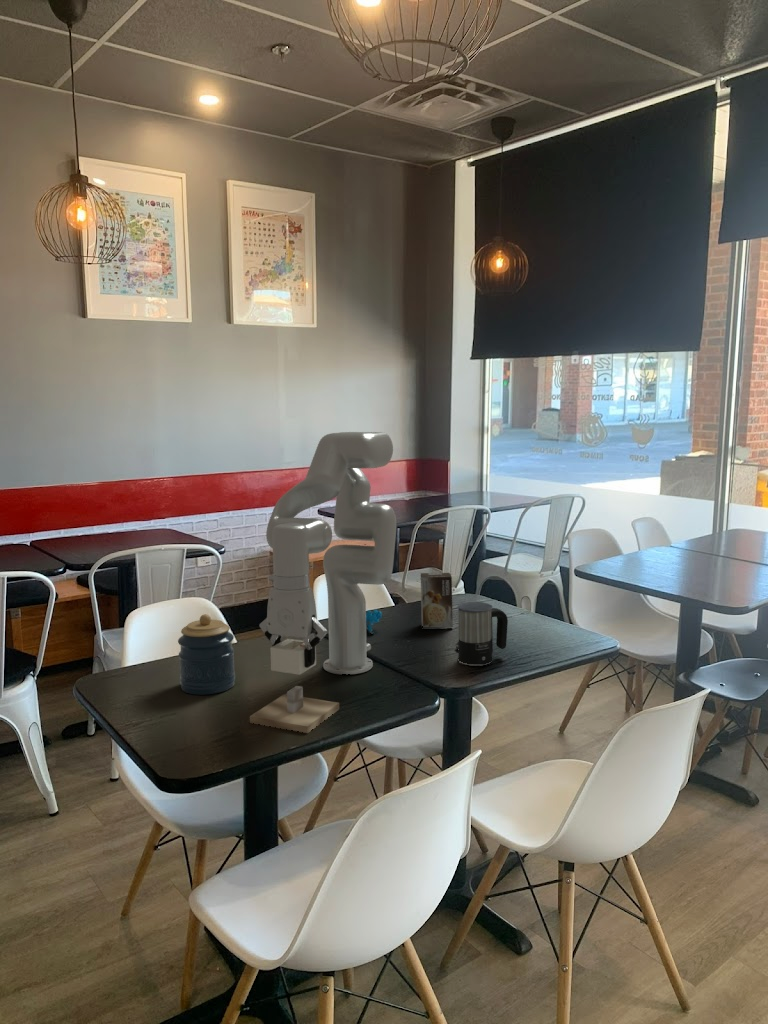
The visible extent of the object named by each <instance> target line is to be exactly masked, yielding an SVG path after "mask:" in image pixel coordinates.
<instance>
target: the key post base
mask: <svg viewBox="0 0 768 1024" xmlns="http://www.w3.org/2000/svg"><path fill="white" fill-rule="evenodd" d="M303 689H304V688H303V686H299V685H295V686H294V687H292V688H290V689H289V690H288V691H286V694H285V693H284V694H282V695H281V696H279V697H278V698H276V699H274V700H273V701H271V702H270V703H268V704H267V705H265V706H264V707H262V708H260V709H259V710H257V711H256V712H254V713H252V714H251V715H250V716H249V723H250V724H253V723H254V725H258V724H260V726H264V725H265V726H264V727H269V726H271V727H270V728H275V727H276V729H280V728H281V730H286V729H287V731H291V730H293V732H297V731H299V732H298V733H302V732H303V734H309V733H311V730H312V729H313V730H314V729H315V728H317V727H318V726H319V725H321V724H323V722H324V720H325V721H326V720H328V719H329V718H330V717H331V716H333V715H334V714H336V713H337V712H338V711H339V710H340V702H338V701H337V702H336V701H331V700H330V701H329V700H324V699H318V698H313V697H306V696H304V691H303ZM332 714H333V715H332ZM328 717H329V718H328ZM320 723H321V724H320ZM316 726H317V727H316Z"/></svg>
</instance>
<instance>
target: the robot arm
mask: <svg viewBox="0 0 768 1024" xmlns="http://www.w3.org/2000/svg"><path fill="white" fill-rule="evenodd" d="M318 441H319V442H318V444H317V447H316V449H315V452H314V454H313V457H312V459H311V462H310V465H309V468H308V470H307V474H306V476H305V478H304V479H303V480H301V481H300V482H298V483H297V484H295V485H294V486H292V487H291V488H290V489H289V490H287V492H284V494H283V495H282V496H280V498H279V499H278V500H277V502H276V503H275V505H274V508H273V510H272V512H271V515H270V518H269V520H268V523H267V527H266V533H265V534H266V535H265V537H266V542H267V544H268V546H269V547H270V548H271V549H272V562H273V563H272V567H273V574H270V575H269V576H268V580H269V581H270V582H272V583H273V585H272V586H273V587H270V589H269V593H268V594H269V595H268V601H267V608H266V609H267V610H266V613H267V614H266V618H265V619H264V620H263V621H262V622H260V623H259V628H260V629H261V631H262V632H263V633H264V636H265V637H266V639H267V640H268V641H269V644H270V645H271V647H273V646H275V645H276V644H278V643H280V642H282V638H283V637H287V638H292V639H293V638H294V639H295V638H296V639H302V641H304V643H305V646H306V649H305V650H304V659H305V667H306V668H308V667H310V666H312V665H313V664H314V662H315V646H316V647H317V646H318V644H319V643H320V642H321V641H322V640H323V639H324V638H325V637H326V635H327V634H328V656H329V658H328V659H325V660H324V662H323V664H322V665H323V669H324V670H325V671H327V673H329V674H330V673H331V674H333V675H334V674H335V675H342V674H346V675H345V676H347V675H348V674H350V675H357V674H363V673H365V672H369V671H370V670H371V669H372V668H373V666H374V665H373V664H374V663H373V660H372V659H371V658H369V657H367V654H368V653H367V652H368V651H370V650H371V649H372V645H371V644H370V643H368V642H367V627H366V615H367V613H366V612H367V609H366V608H367V607H366V606H367V605H366V604H367V602H366V601H367V600H366V597H365V595H364V592H363V591H362V589H361V587H360V586H359V585H361V584H362V585H385V584H387V583H388V582H390V580H391V578H392V574H393V569H394V562H395V561H394V560H395V548H396V539H397V537H396V536H397V517H396V512H395V510H394V509H393V507H391V506H390V505H389V504H385V503H375V502H373V503H370V500H371V499H370V498H371V483H370V481H369V479H368V477H367V475H366V474H365V473H364V472H363V470H362V469H378V468H383V467H385V466H387V465H388V464H389V463H390V461H391V459H392V457H393V452H394V445H393V441H392V438H391V436H390V435H389V434H388V433H386V432H383V431H344V432H343V431H342V432H331V433H328V434H325V435H323V436H322V437H321V439H320V440H318ZM334 499H335V506H334V507H335V508H334V517H333V529H334V530H332V528H331V525H330V524H329V523H328V522H327V521H326V520H324V519H322V518H312V517H311V518H310V517H296V516H297V515H298V514H300V513H303V511H305V510H309V509H310V508H313V507H317V506H319V505H322V504H324V503H327V502H329V501H331V500H334ZM333 531H334V534H335V535H336V537H338V539H341V540H345V541H346V540H348V541H361V542H362V541H364V542H374V545H360V544H359V545H358V544H337V545H333V546H331V547H330V545H331V542H332V540H333ZM325 550H326V551H325ZM324 551H325V552H324ZM322 552H324V555H323V560H322V564H323V565H322V566H323V572H324V576H325V580H326V581H325V583H326V589H327V612H328V613H327V615H328V618H327V619H328V630H327V628H326V627H324V625H323V624H321V623H322V622H321V623H320V621H319V620H318V616H317V607H316V600H315V599H316V598H315V595H314V591H313V588H312V587H310V555H312V554H319V553H322ZM314 633H317V634H316V636H315V635H314ZM348 676H349V675H348Z"/></svg>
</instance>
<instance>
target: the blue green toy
mask: <svg viewBox="0 0 768 1024" xmlns="http://www.w3.org/2000/svg"><path fill="white" fill-rule="evenodd" d="M382 614H383V613H382V611H381V610H378V609H373V610H372V611H371V609H369V610H366V629H368V630H367V631H368V632H369V631H373V628H372V627H371V626H370V625H373V626H374V623H375V624H377V623H379V621H380V620H381V619H382V618H383V617H382ZM373 632H374V631H373Z"/></svg>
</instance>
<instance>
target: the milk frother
mask: <svg viewBox="0 0 768 1024" xmlns="http://www.w3.org/2000/svg"><path fill="white" fill-rule="evenodd" d="M456 608H457V611H458V613H457V615H458V619H457V620H458V621H457V622H458V641H457V642H456V644H455V647H456V650H457V649H459V650H458V654H457V655H458V658H457V660H458V659H459V661H461V662H463V663H467V664H486V663H489V662H491V661H492V659H493V653H494V652H493V650H494V647H493V643H494V642H493V640H494V639H493V618H496V622H497V623H496V640H495V641H496V643H495V644H496V647H498V648H499V649H500V650H504V649H506V647H507V639H508V623H509V622H508V621H509V620H508V615H507V614H506V612H504V611H503V610H502V609H499V608H497V607H496V608H495V607H493V605H492V604H490V603H487V602H481V601H480V602H479V601H478V602H477V601H473V602H472V601H471V602H469V601H467V602H464V603H460V604H458V605H457V606H456Z"/></svg>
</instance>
